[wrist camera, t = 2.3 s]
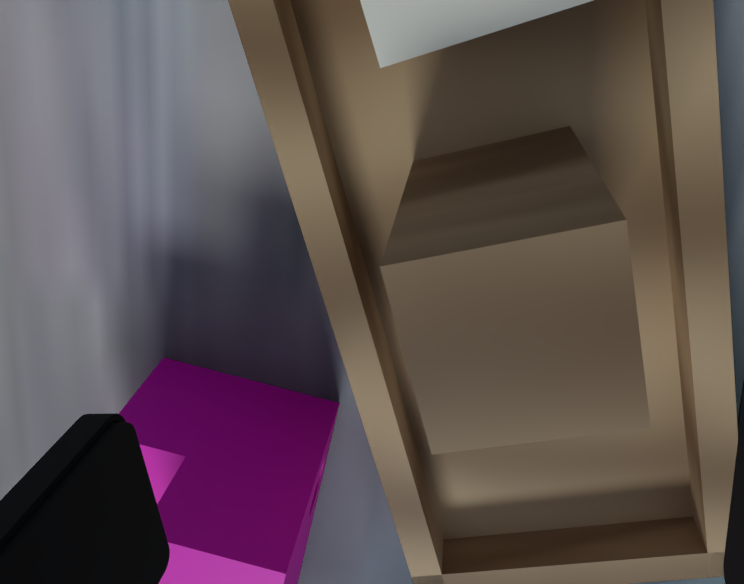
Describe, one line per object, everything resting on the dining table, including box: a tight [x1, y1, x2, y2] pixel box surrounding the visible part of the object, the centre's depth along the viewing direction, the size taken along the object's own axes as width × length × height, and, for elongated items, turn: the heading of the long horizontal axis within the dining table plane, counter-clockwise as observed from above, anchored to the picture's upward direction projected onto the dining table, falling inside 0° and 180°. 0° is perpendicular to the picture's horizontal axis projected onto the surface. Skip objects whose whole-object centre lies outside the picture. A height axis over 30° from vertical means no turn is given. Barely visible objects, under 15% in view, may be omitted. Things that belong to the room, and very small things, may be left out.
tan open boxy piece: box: [228, 0, 738, 584], centre depth 16 cm, size 24×10×9 cm, turn 15°
